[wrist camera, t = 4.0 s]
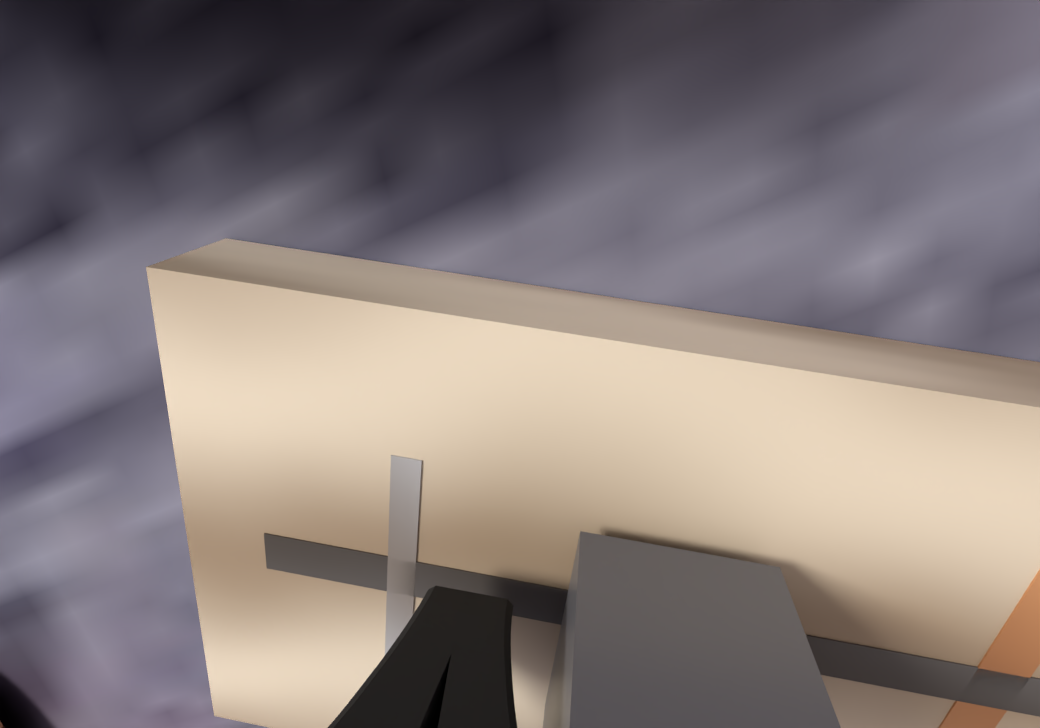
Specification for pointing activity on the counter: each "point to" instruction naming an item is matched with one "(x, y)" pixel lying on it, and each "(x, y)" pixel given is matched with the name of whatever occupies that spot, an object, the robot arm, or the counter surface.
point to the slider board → (584, 478)
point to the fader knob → (680, 644)
